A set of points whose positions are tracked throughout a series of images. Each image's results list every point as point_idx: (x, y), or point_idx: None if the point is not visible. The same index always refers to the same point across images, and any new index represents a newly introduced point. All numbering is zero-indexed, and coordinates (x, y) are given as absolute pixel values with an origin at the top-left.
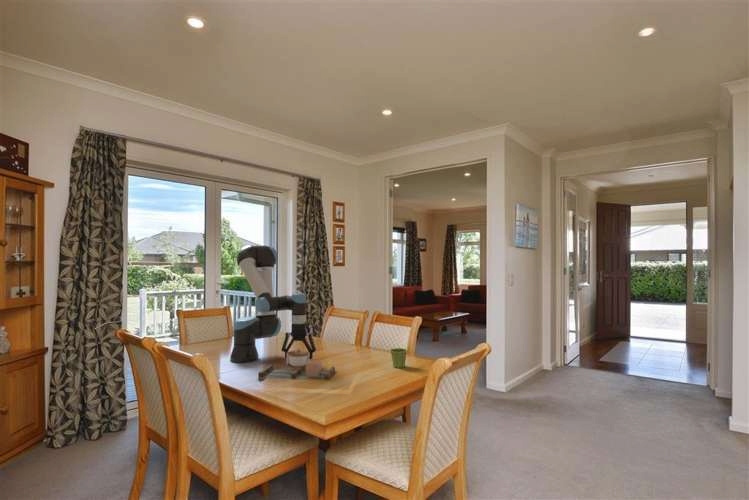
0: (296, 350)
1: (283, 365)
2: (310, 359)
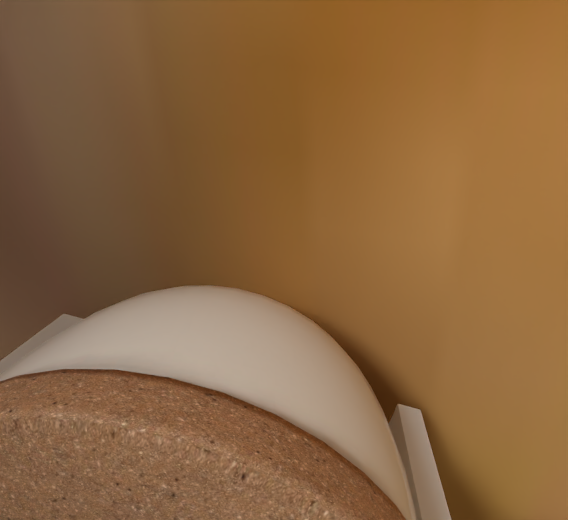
0: (2, 514)
1: (5, 256)
2: (437, 502)
